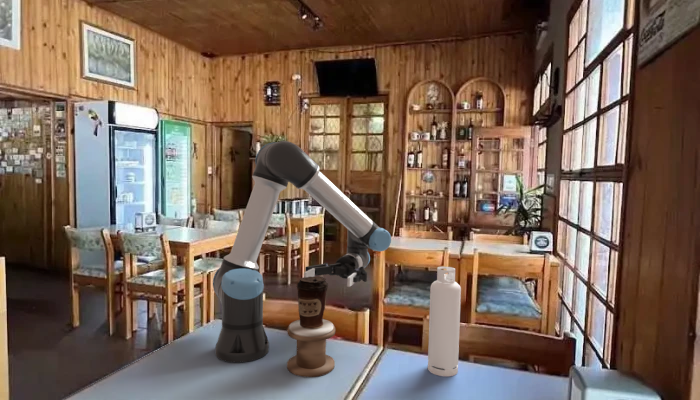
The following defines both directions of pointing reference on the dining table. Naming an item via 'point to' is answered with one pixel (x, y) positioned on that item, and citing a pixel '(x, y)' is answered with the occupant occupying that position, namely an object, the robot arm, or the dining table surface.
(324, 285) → the coffee cup
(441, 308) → the bottle
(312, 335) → the cup pedestal
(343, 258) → the robot arm
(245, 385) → the dining table surface
